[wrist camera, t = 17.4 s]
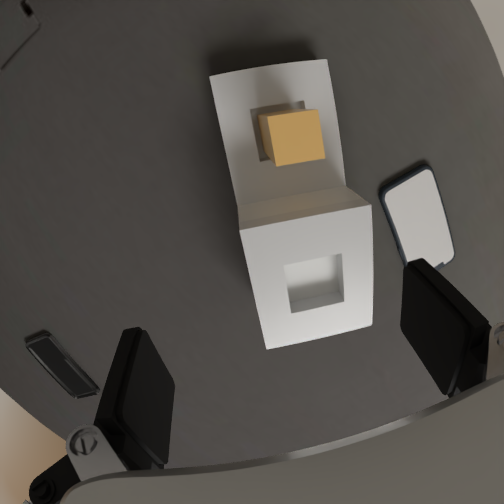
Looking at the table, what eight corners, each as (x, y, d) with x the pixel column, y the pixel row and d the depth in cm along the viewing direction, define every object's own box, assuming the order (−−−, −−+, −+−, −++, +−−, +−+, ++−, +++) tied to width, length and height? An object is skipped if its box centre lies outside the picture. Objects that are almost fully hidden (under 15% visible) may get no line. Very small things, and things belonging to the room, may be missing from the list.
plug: (256, 114, 32) (267, 116, 23) (293, 108, 31) (317, 109, 22) (263, 150, 33) (276, 166, 24) (299, 144, 33) (325, 158, 24)
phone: (74, 399, 50) (23, 344, 43) (76, 395, 51) (25, 340, 44) (101, 393, 49) (47, 334, 43) (103, 388, 50) (50, 329, 44)
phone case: (372, 190, 38) (407, 282, 44) (378, 193, 36) (412, 287, 42) (425, 160, 36) (452, 253, 42) (431, 162, 35) (457, 258, 41)
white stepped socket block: (211, 79, 30) (203, 67, 21) (318, 62, 30) (350, 48, 21) (258, 298, 42) (266, 349, 33) (345, 280, 42) (372, 325, 33)
